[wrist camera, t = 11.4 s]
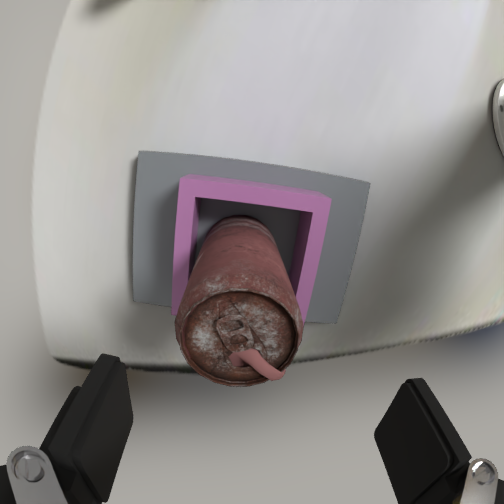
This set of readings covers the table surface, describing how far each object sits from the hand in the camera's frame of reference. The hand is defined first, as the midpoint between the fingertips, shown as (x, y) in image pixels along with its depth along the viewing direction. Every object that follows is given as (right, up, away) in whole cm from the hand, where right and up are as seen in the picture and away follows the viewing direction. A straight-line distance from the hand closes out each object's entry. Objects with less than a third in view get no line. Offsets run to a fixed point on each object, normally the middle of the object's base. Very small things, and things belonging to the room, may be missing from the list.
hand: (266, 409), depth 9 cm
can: (-1, +5, +18) cm, 19 cm away
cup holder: (-1, +6, +19) cm, 20 cm away
